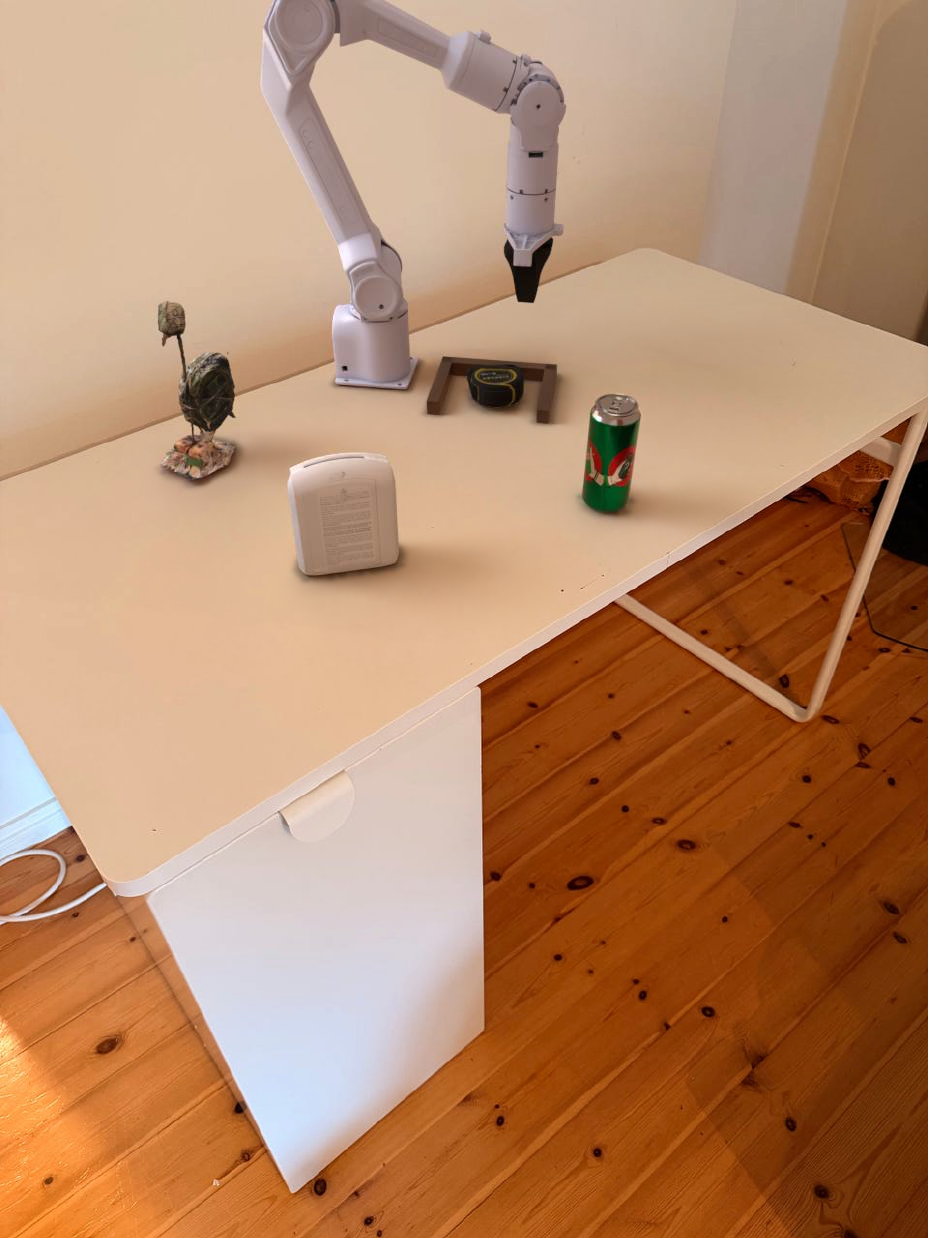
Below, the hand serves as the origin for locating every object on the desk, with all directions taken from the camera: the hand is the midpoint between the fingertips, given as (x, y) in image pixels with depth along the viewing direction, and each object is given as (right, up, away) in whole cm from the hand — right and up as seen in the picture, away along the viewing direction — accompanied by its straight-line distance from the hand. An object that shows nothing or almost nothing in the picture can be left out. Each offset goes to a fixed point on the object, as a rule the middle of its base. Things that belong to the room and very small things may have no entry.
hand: (526, 300), depth 116 cm
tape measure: (-4, -12, +1) cm, 13 cm away
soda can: (+8, -27, -15) cm, 32 cm away
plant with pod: (-38, -21, -8) cm, 44 cm away
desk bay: (-4, -12, +1) cm, 13 cm away
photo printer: (-19, -34, -22) cm, 45 cm away
